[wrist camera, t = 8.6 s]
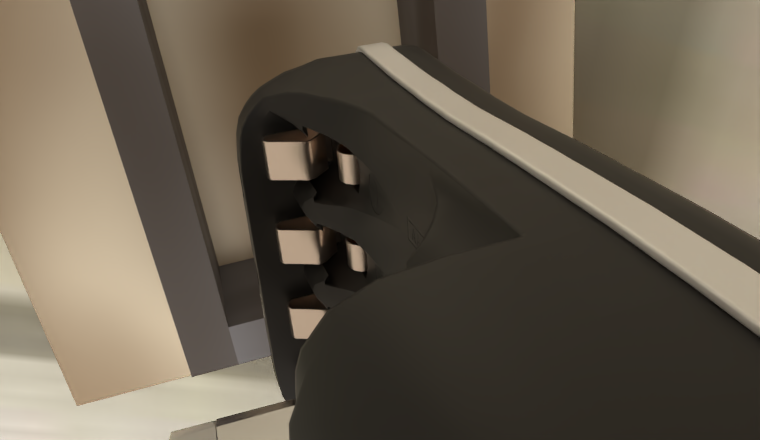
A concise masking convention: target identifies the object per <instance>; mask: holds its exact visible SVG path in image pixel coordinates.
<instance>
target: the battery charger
mask: <svg viewBox="0 0 760 440" xmlns="http://www.w3.org/2000/svg"><path fill="white" fill-rule="evenodd" d="M236 143H237V162H238V167H239V174H240V180H241V186H242V192H243V200H244V206H245V211H246V217H247V223H248V229H249V235H250V240H251V246H252V252H253V256H254V261H255V267H256V273H257V278H258V284H259V289H260V298H261V303H262V309H263V315H264V321H265V326H266V332H267V338H268V342H269V347H270V352H271V357H272V362H273V368H274V372H275V375H276V378H277V381H278V384H279V387H280V390H281V392H282V395H283V397H284V399H285V400H286V401H288V400H292V399H295V398H296V403H295V406H294V409H293V412H292V416H291V419H290V422H289V440H760V240H758V239H757V238H755V237H753V236H752V235H750V234H748V233H746V232H745V231H743V230H741V229H739V228H738V227H736V226H734V225H732V224H731V223H729V222H727V221H725V220H724V219H722V218H720V217H719V216H717V215H715V214H713V213H712V212H710V211H708V210H706V209H704V208H702V207H701V206H699V205H697V204H695V203H693V202H691V201H690V200H688V199H686V198H684V197H682V196H680V195H678V194H677V193H675V192H673V191H671V190H669V189H667V188H665V187H664V186H662V185H660V184H658V183H656V182H654V181H652V180H651V179H649V178H647V177H645V176H643V175H641V174H639V173H638V172H636V171H634V170H632V169H630V168H628V167H626V166H624V165H622V164H620V163H619V162H617V161H615V160H613V159H611V158H609V157H608V156H606V155H604V154H602V153H600V152H598V151H596V150H594V149H592V148H590V147H588V146H586V145H585V144H583V143H581V142H579V141H577V140H575V139H573V138H571V137H569V136H567V135H565V134H563V133H561V132H559V131H557V130H555V129H553V128H551V127H549V126H547V125H545V124H543V123H541V122H539V121H537V120H535V119H533V118H531V117H529V116H527V115H525V114H523V113H522V112H520V111H518V110H516V109H515V108H513V107H511V106H510V105H508V104H506V103H504V102H503V101H501V100H499V99H498V98H496V97H494V96H493V95H491V94H490V93H488V92H487V91H485V90H484V89H482V88H481V87H479V86H478V85H476V84H475V83H473V82H471V81H470V80H468V79H466V78H464V77H463V76H461V75H460V74H458V73H457V72H455V71H454V70H452V69H451V68H449V67H448V66H447V65H445V64H444V63H442V62H441V61H439V60H438V59H437V58H435V57H434V56H432V55H431V54H430V53H428V52H427V51H426V50H424V49H422V48H420V47H417V46H414V45H399V46H393V47H391V46H390V45H389V44H388V43H383V42H380V43H374V44H368V45H362V46H358V47H357V50H356V52H355V53H350V54H344V55H338V56H332V57H325V58H319V59H316V60H313V61H311V62H309V63H306V64H304V65H302V66H299V67H296V68H293V69H290V70H288V71H285V72H283V73H281V74H279V75H278V76H276V77H274V78H273V79H271V80H270V81H268V82H266V83H265V84H263V85H262V86H260V87H259V88H258V89H257V90H256V91H255V92H254V93H253V94H252V95H251V96H250V98H249V99H248V100H247V102H246V103H245V105H244V106H243V109H242V111H241V113H240V115H239V117H238V123H237V129H236Z"/></svg>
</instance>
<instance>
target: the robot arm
mask: <svg viewBox="0 0 760 440" xmlns="http://www.w3.org/2000/svg"><path fill="white" fill-rule="evenodd" d="M295 403H296V398H295V399H292V400H288V401H284V402H280V403H276V404H273V405H269V406H265V407H261V408H258V409H254V410H250V411H246V412H242V413H239V414H235V415H231V416H227V417H223V418H220V419H217V421H212V422H208V423H204V424H200V425H197V426H193V427H189V428H185V429H181V430H177V431H174V432H171V435H170V439H169V440H289V422H290V419H291V416H292V412H293V409H294V406H295Z"/></svg>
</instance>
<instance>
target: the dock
mask: <svg viewBox="0 0 760 440" xmlns="http://www.w3.org/2000/svg"><path fill="white" fill-rule="evenodd" d="M574 28H575V0H0V232H1V234H2V236H3V239H4V241H5V243H6V245H7V248H8V250H9V252H10V255H11V257H12V259H13V261H14V264H15V266H16V268H17V270H18V273H19V275H20V277H21V280H22V282H23V284H24V286H25V289H26V291H27V293H28V295H29V298H30V300H31V302H32V305H33V307H34V309H35V311H36V314H37V316H38V318H39V320H40V323H41V325H42V327H43V330H44V332H45V334H46V336H47V339H48V341H49V343H50V345H51V348H52V350H53V352H54V355H55V357H56V359H57V361H58V364H59V366H60V368H61V370H62V373H63V375H64V377H65V380H66V382H67V384H68V386H69V389H70V391H71V393H72V396H73V398H74V400H75V402H76V405H77V406H79V405H83V404H86V403H90V402H94V401H97V400H101V399H105V398H109V397H112V396H116V395H120V394H123V393H127V392H131V391H135V390H138V389H142V388H146V387H150V386H153V385H157V384H161V383H164V382H168V381H172V380H176V379H179V378H183V377H187V376H190V375H191V376H192V377H194V376H197V375H201V374H205V373H208V372H212V371H216V370H220V369H223V368H227V367H231V366H234V365H238V364H242V363H246V362H249V361H253V360H257V359H260V358H264V357H268V356H271V352H270V347H269V342H268V338H267V332H266V326H265V321H264V315H263V309H262V303H261V298H260V289H259V284H258V278H257V273H256V267H255V261H254V256H253V252H252V246H251V240H250V235H249V229H248V223H247V217H246V211H245V206H244V200H243V192H242V186H241V180H240V174H239V167H238V162H237V143H236V129H237V123H238V117H239V115H240V113H241V111H242V109H243V106H244V105H245V103H246V102H247V100H248V99H249V98H250V96H251V95H252V94H253V93H254V92H255V91H256V90H257V89H258V88H259V87H260V86H262V85H263V84H265V83H266V82H268V81H270V80H271V79H273V78H274V77H276V76H278V75H279V74H281V73H283V72H285V71H288V70H290V69H293V68H296V67H299V66H302V65H304V64H306V63H309V62H311V61H313V60H316V59H319V58H325V57H332V56H338V55H344V54H350V53H355V52H356V50H357V47H358V46H362V45H368V44H374V43H380V42H383V43H388V44H389V45H390V46H391V47H393V46H399V45H414V46H417V47H420V48H422V49H424V50H426V51H427V52H428V53H430V54H431V55H432V56H434V57H435V58H437V59H438V60H439V61H441V62H442V63H444V64H445V65H447V66H448V67H449V68H451V69H452V70H454V71H455V72H457V73H458V74H460V75H461V76H463V77H464V78H466V79H468V80H470V81H471V82H473V83H475V84H476V85H478V86H479V87H481V88H482V89H484V90H485V91H487V92H488V93H490V94H491V95H493V96H494V97H496V98H498V99H499V100H501V101H503V102H504V103H506V104H508V105H510V106H511V107H513V108H515V109H516V110H518V111H520V112H522V113H523V114H525V115H527V116H529V117H531V118H533V119H535V120H537V121H539V122H541V123H543V124H545V125H547V126H549V127H551V128H553V129H555V130H557V131H559V132H561V133H563V134H565V135H567V136H569V137H571V138H573V95H574Z"/></svg>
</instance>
